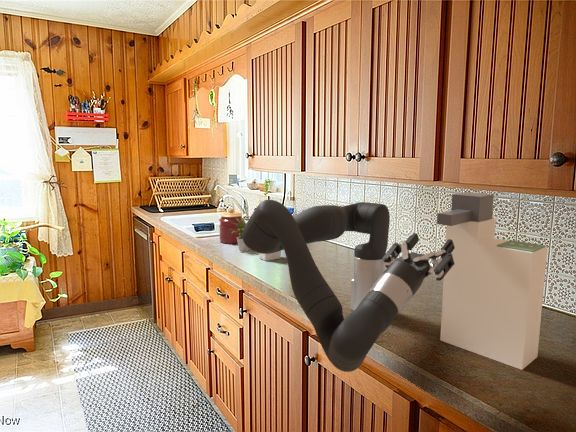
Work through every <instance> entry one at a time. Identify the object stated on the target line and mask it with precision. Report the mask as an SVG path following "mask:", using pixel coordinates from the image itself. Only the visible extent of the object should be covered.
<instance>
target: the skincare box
mask: <svg viewBox="0 0 576 432" xmlns="http://www.w3.org/2000/svg"><path fill="white" fill-rule="evenodd" d="M281 252H282V250H281V251H278V252H275V253H270V254H262V253H258V254H259V259H261V260H263V261H265V262H267V261H273V260H279V259H281V258H282V257H281V256H282V253H281Z"/></svg>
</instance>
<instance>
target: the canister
mask: <svg viewBox="0 0 576 432" xmlns="http://www.w3.org/2000/svg"><path fill="white" fill-rule="evenodd" d="M242 216H243V214H242V213H240V212H239V211H235V210H234V208H229V209H228V211H225V212H222V214H220V217H221V218H219V219H218V221H219V227H218V228H219V243H223V244H228V245H229V244H234V245H235V244H238V241H237V237H240V236H241V235H239V233H240V232H239V230H237V229H239V227H238V226H237V225H236V224H238V225H239V222H238V220H239V221H240V223H241V219H243V220H244V221H245V219H244V218H243V217H242ZM236 218H237V219H238V220H237V219H236ZM232 221H233V222H232ZM234 222H235V223H236V224H235V223H234ZM233 223H234V224H233ZM241 226H242V225H241ZM237 227H238V228H237ZM233 230H234V231H238V232H233ZM232 232H233V233H232Z"/></svg>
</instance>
